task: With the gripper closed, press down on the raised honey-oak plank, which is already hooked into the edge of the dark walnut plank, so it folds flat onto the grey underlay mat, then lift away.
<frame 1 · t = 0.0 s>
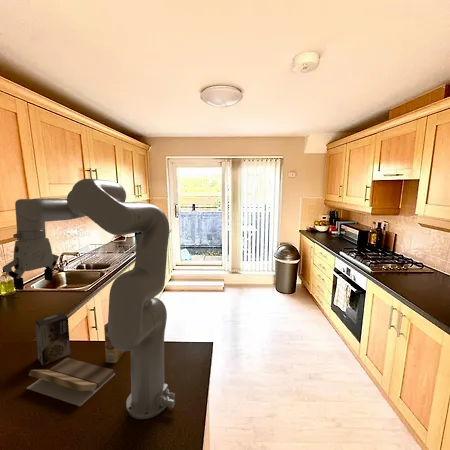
hand: (34, 284, 83), 31 cm above the counter, tool pointing down, fingers open, 9 cm apart
oak plank: (62, 379, 76), point 4 cm above the counter, hinge at 35.0°
walnut plank: (81, 373, 83), resting on underlay mat
underlay mat: (72, 383, 79), on the counter
candy box: (116, 357, 93), on the counter
coffee box: (54, 359, 92), on the counter
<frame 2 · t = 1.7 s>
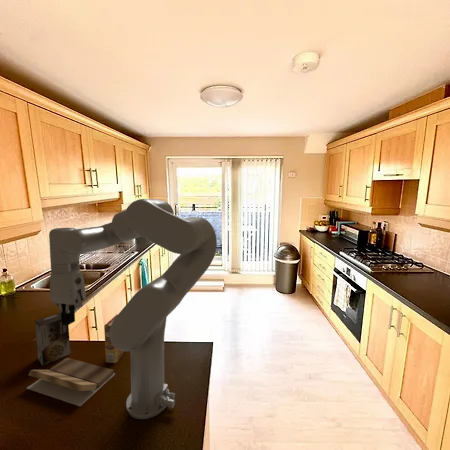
hand: (68, 323, 77), 21 cm above the counter, tool pointing down, fingers closed
nothing on the counter moved.
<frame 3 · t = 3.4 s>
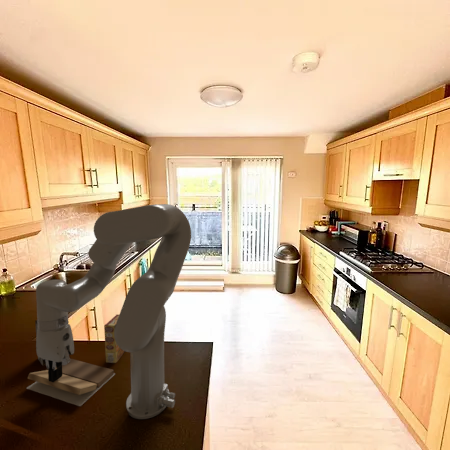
hand: (55, 378, 74), 6 cm above the counter, tool pointing down, fingers closed
oak plank: (62, 381, 76), point 3 cm above the counter, hinge at 27.0°, touching gripper
everything else where it was.
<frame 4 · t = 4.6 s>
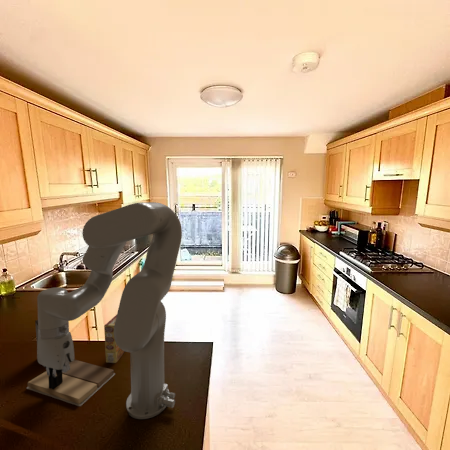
hand: (55, 385, 75), 3 cm above the counter, tool pointing down, fingers closed
oak plank: (62, 385, 76), point 2 cm above the counter, hinge at 3.5°, touching gripper
everything else where it was.
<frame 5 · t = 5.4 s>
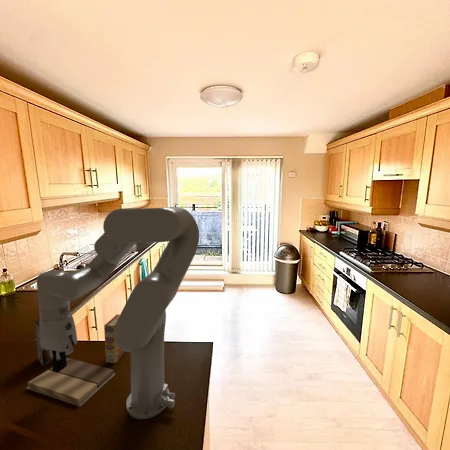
hand: (60, 369, 74), 8 cm above the counter, tool pointing down, fingers closed
oak plank: (62, 385, 76), point 2 cm above the counter, hinge at 3.2°
everything else where it was.
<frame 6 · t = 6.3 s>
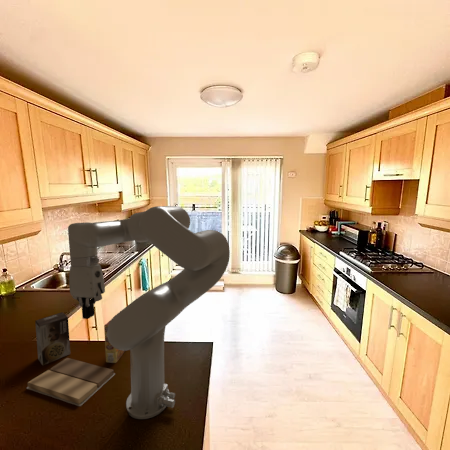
hand: (88, 316, 78), 23 cm above the counter, tool pointing down, fingers closed
nothing on the counter moved.
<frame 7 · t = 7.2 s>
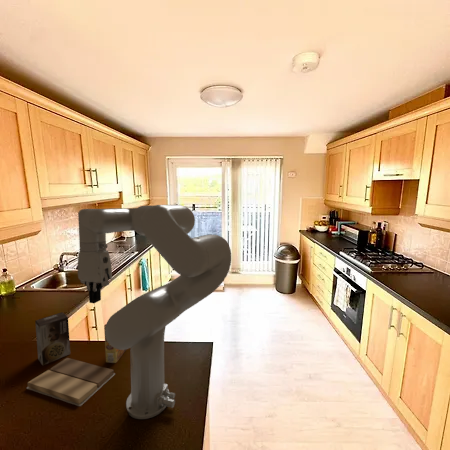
hand: (95, 301, 79), 27 cm above the counter, tool pointing down, fingers closed
nothing on the counter moved.
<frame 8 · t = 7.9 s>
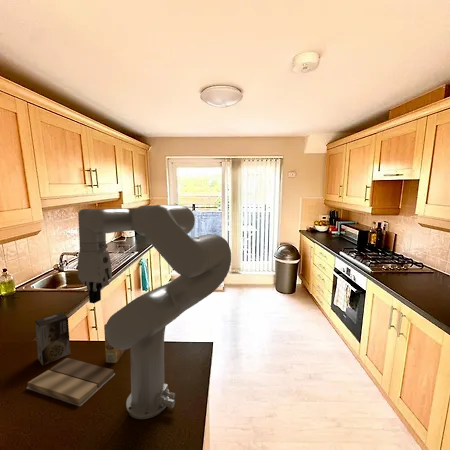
hand: (95, 301, 79), 27 cm above the counter, tool pointing down, fingers closed
nothing on the counter moved.
at the end: oak plank at +3° (first picture: +35°); coffee box tilted 0° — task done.
